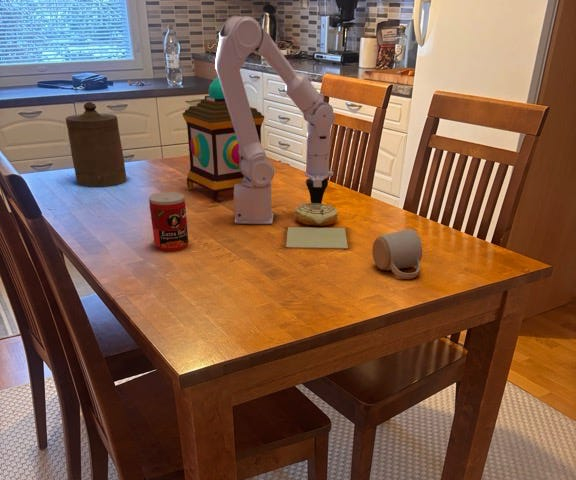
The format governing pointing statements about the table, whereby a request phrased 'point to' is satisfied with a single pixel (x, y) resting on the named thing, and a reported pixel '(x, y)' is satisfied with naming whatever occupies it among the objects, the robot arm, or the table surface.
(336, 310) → the table surface
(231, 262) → the table surface
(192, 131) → the decorative lantern
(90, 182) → the wooden container
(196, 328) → the table surface
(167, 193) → the canned food
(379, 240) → the ceramic mug
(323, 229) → the placemat
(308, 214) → the decorated donut
